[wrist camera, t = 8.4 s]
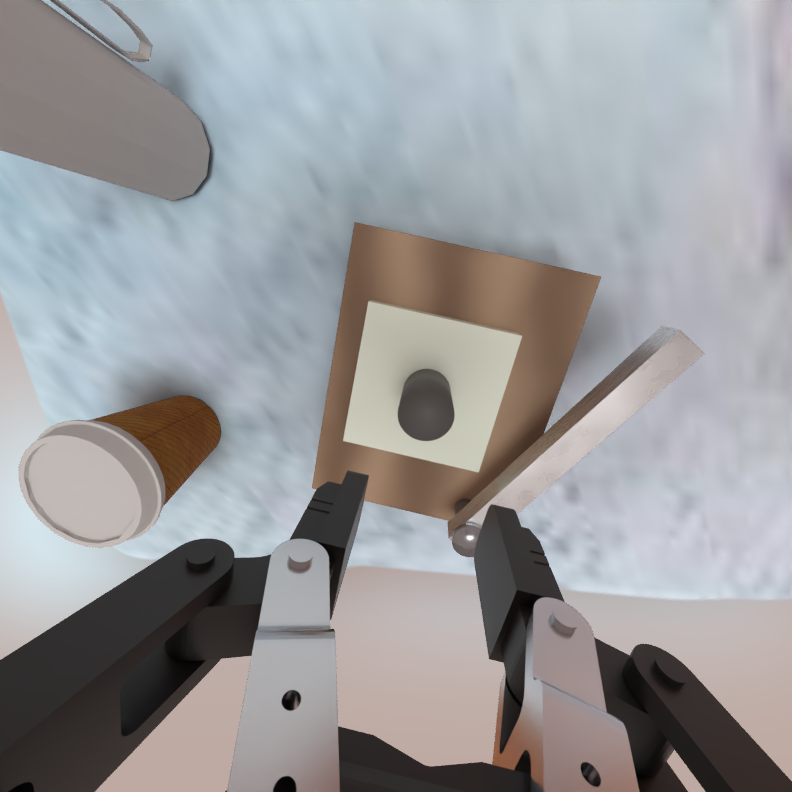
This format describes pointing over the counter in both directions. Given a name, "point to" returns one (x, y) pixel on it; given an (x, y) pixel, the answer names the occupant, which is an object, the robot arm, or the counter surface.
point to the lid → (428, 385)
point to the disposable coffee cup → (116, 469)
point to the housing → (469, 301)
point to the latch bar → (579, 431)
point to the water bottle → (93, 105)
